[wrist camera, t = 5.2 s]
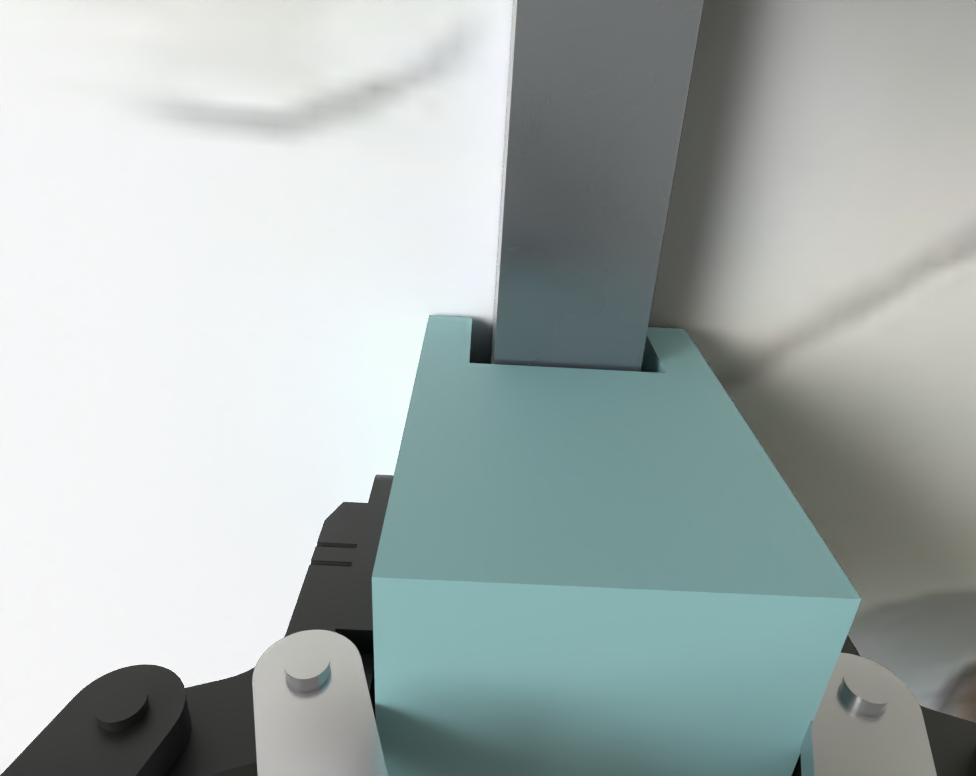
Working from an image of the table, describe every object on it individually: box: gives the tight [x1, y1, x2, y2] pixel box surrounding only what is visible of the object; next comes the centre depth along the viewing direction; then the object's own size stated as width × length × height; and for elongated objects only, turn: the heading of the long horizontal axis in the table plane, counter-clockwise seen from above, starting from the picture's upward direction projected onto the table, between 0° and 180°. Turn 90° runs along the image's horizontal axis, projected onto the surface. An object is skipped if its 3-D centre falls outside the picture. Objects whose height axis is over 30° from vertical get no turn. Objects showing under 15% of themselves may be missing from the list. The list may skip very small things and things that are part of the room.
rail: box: [491, 0, 704, 372], centre depth 12 cm, size 4×20×4 cm, turn 177°
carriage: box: [372, 315, 862, 776], centre depth 11 cm, size 5×6×7 cm
